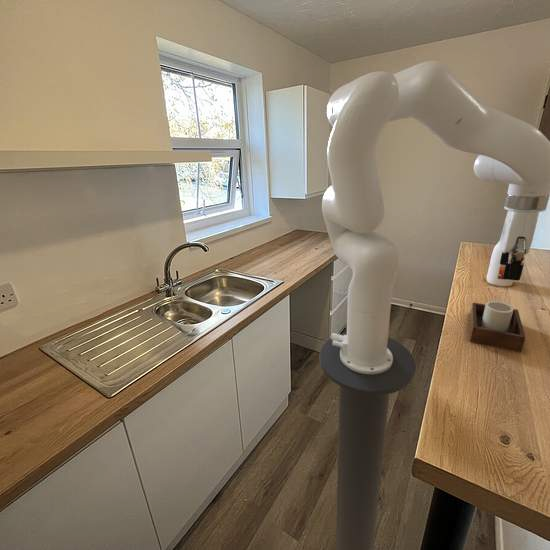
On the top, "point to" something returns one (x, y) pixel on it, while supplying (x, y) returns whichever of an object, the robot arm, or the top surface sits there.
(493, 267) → the milk bottle
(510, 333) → the wooden box
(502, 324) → the cream pot
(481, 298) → the top surface
